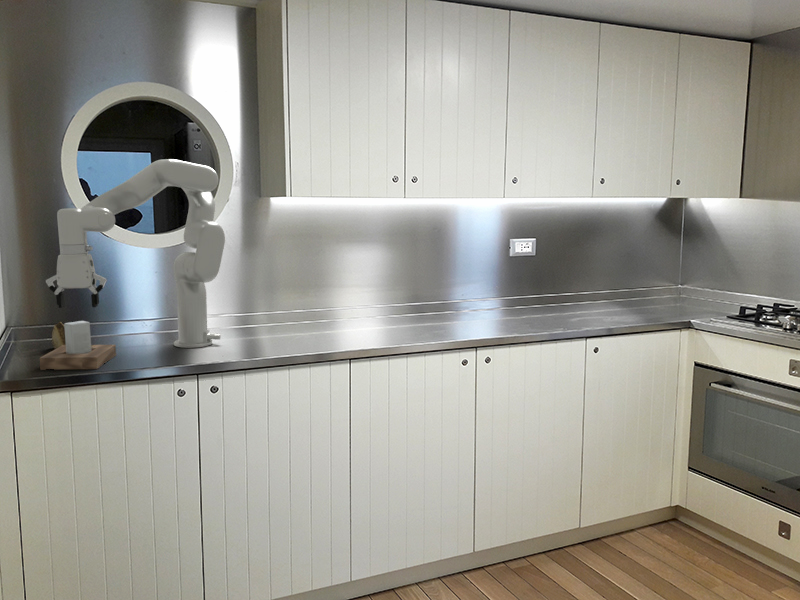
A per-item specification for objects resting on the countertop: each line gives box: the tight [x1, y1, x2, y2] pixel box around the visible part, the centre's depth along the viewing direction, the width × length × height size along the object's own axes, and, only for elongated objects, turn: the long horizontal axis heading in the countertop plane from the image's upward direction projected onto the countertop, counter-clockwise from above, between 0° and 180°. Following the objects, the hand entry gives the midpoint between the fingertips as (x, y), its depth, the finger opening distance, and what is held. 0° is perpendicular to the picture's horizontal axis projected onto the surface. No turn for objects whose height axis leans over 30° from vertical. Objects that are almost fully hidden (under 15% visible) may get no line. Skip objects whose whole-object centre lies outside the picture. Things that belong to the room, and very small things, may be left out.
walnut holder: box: [39, 344, 117, 371], centre depth 215 cm, size 16×18×4 cm
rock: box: [51, 321, 66, 349], centre depth 233 cm, size 11×9×10 cm
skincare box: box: [63, 320, 92, 354], centre depth 214 cm, size 6×4×12 cm
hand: (78, 306), depth 213 cm, fingers open, 9 cm apart
